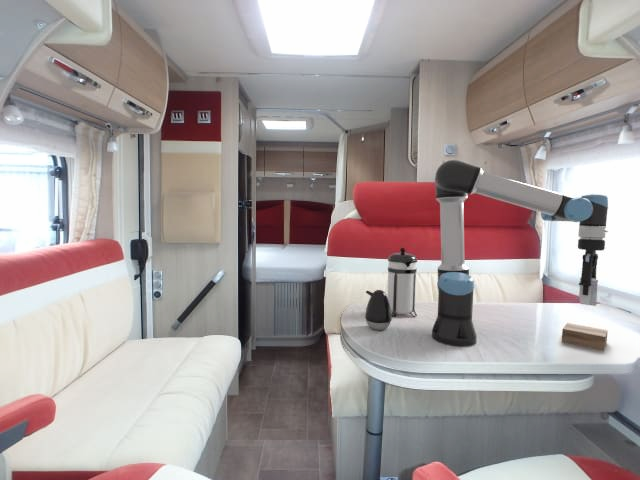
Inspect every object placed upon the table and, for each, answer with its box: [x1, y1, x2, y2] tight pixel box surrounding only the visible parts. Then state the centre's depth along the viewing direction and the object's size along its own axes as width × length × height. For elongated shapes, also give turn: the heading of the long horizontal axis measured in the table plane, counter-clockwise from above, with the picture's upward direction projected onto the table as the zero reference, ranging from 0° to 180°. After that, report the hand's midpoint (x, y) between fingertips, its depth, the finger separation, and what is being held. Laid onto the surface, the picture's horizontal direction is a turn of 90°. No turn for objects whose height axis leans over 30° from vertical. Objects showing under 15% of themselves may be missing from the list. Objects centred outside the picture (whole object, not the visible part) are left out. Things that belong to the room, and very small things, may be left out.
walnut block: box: [561, 322, 609, 351], centre depth 127 cm, size 10×12×5 cm
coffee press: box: [387, 247, 418, 318], centre depth 160 cm, size 17×16×30 cm
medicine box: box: [578, 277, 599, 307], centre depth 126 cm, size 8×4×9 cm, turn 148°
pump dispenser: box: [364, 289, 393, 331], centre depth 139 cm, size 10×10×15 cm
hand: (587, 301), depth 127 cm, fingers closed on medicine box, 8 cm apart
